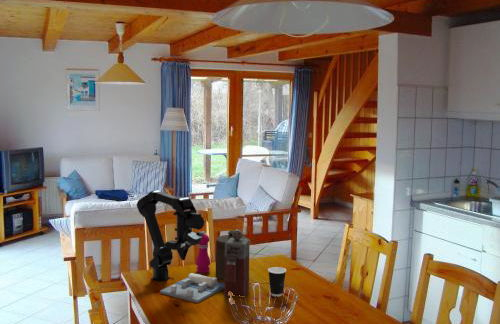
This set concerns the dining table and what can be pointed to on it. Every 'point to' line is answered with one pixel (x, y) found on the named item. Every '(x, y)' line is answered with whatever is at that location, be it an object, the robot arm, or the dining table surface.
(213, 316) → the dining table surface
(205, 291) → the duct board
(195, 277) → the white cylinder
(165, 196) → the robot arm
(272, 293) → the dixie cup
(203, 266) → the pepper mill
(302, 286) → the dining table surface
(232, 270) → the dark jug
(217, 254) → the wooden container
